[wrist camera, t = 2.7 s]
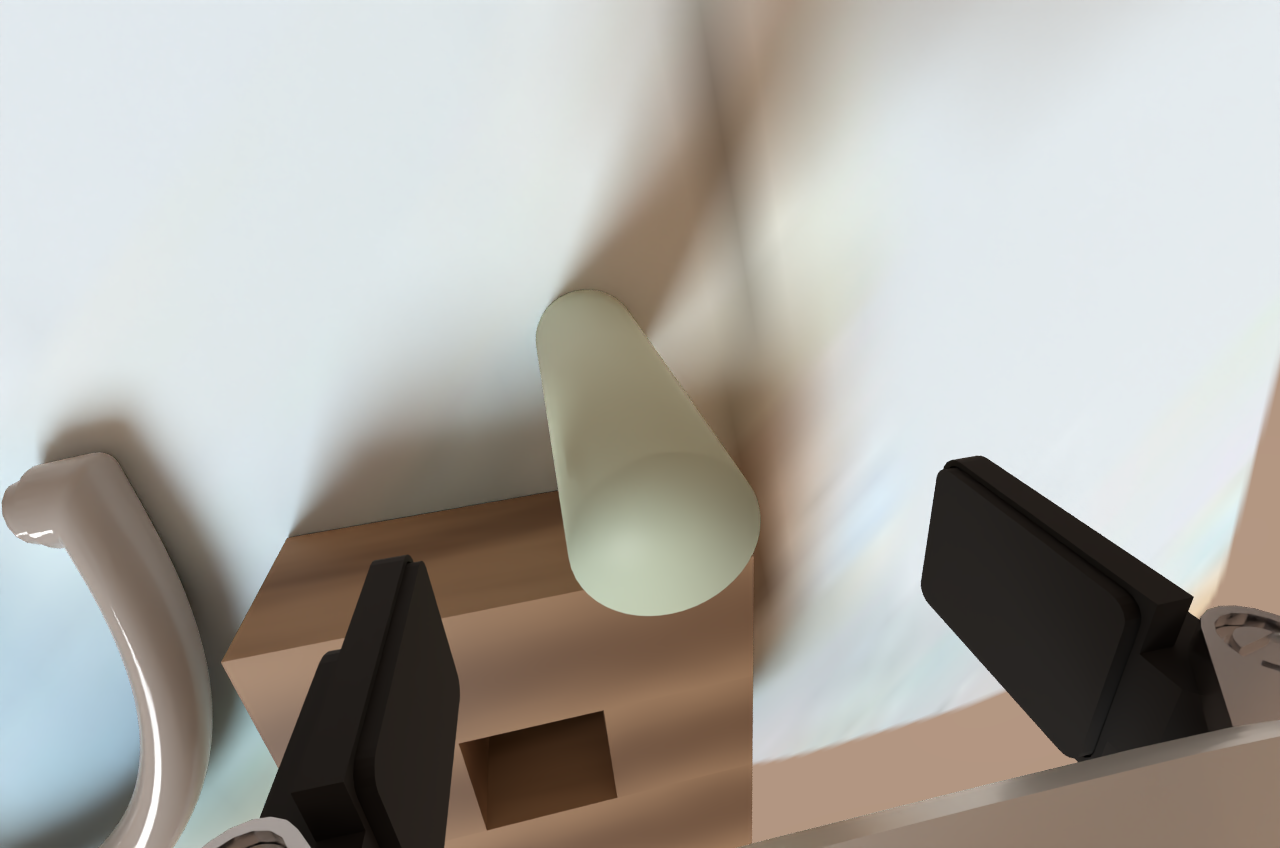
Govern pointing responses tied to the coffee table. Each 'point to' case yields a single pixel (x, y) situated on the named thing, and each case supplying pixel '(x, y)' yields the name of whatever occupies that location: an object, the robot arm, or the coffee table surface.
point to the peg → (637, 466)
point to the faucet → (131, 629)
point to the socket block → (533, 681)
